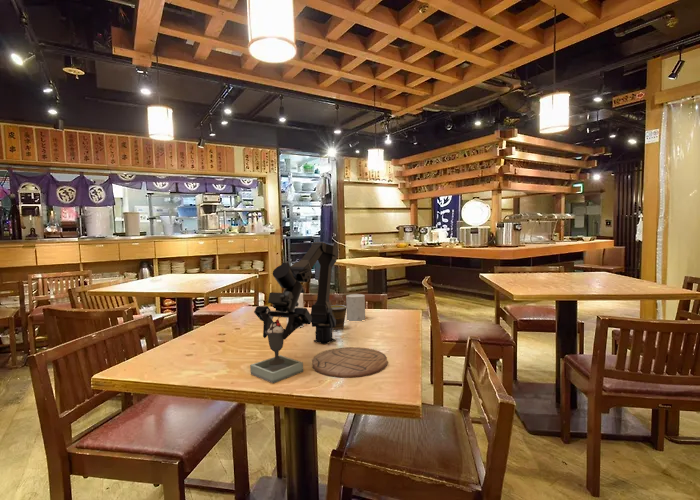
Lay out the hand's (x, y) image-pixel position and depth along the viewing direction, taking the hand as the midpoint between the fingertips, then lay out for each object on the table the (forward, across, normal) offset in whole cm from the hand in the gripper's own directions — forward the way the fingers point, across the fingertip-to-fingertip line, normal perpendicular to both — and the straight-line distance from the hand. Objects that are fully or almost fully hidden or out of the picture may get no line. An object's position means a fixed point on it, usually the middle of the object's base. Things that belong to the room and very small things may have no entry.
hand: (273, 338), depth 112 cm
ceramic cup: (-30, -3, +48) cm, 56 cm away
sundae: (+5, 0, +7) cm, 8 cm away
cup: (-30, -24, +48) cm, 61 cm away
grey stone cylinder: (-44, 0, +62) cm, 76 cm away
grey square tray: (+7, 0, +9) cm, 11 cm away
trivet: (-2, +19, +20) cm, 27 cm away
